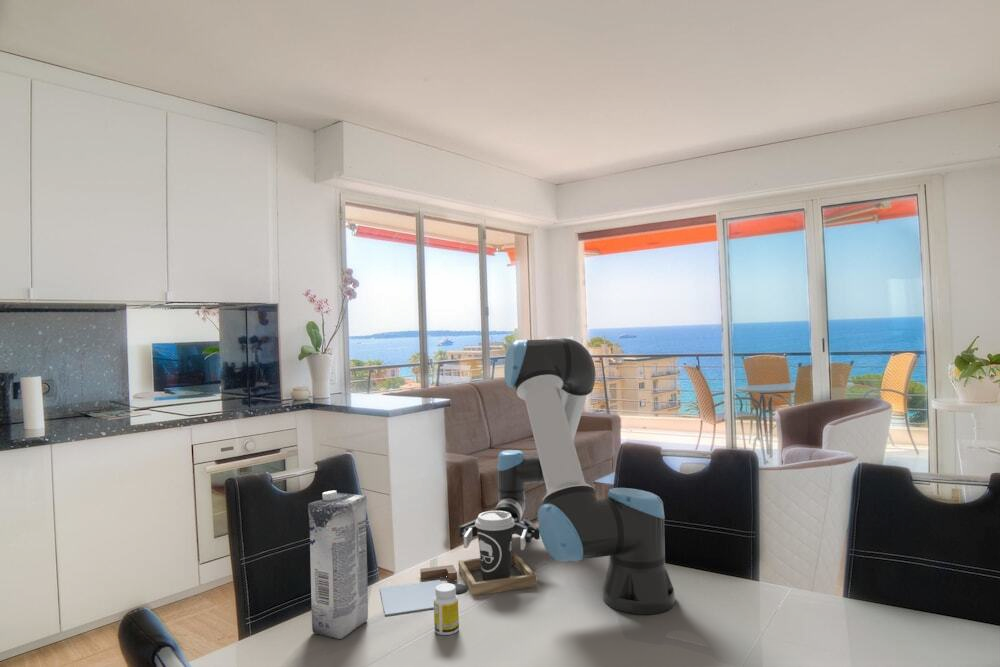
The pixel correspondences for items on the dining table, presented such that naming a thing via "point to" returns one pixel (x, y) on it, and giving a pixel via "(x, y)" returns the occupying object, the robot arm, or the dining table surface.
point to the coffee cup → (495, 543)
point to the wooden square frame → (497, 584)
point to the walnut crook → (439, 572)
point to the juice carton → (338, 563)
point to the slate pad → (409, 597)
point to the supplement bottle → (446, 609)
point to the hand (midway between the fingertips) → (493, 543)
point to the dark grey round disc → (460, 588)
